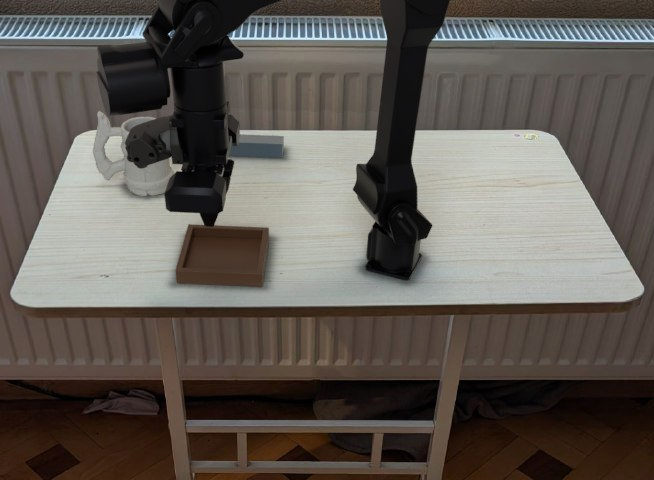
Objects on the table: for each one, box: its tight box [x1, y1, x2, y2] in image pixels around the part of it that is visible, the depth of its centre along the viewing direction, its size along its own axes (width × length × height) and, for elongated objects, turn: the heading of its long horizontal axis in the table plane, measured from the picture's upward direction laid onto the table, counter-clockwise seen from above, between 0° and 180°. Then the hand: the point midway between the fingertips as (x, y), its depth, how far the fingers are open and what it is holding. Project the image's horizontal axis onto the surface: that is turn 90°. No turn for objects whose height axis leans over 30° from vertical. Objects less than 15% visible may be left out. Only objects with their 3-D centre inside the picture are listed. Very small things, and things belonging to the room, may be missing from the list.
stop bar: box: [228, 133, 285, 159], centre depth 139 cm, size 3×12×2 cm, turn 88°
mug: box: [92, 110, 174, 197], centre depth 127 cm, size 8×12×12 cm, turn 96°
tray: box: [175, 223, 270, 288], centre depth 116 cm, size 12×12×2 cm
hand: (209, 225), depth 101 cm, fingers closed
